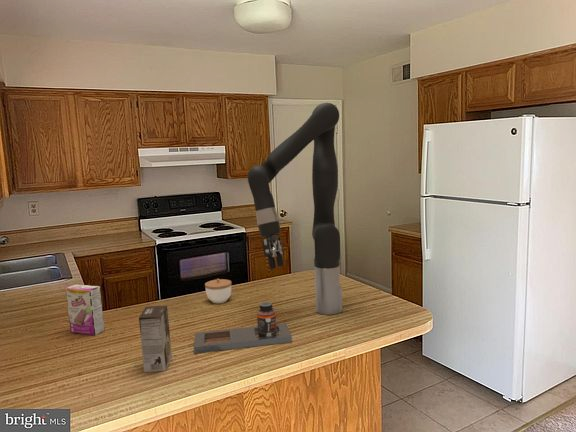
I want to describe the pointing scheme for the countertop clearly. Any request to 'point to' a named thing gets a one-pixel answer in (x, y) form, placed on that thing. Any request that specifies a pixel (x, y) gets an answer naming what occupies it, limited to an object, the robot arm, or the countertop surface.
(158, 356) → the coffee box
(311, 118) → the robot arm
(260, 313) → the supplement bottle
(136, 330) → the countertop surface
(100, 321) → the candy bar box
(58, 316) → the countertop surface
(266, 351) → the countertop surface
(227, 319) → the countertop surface
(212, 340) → the plate with square holes
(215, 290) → the lidded jar
